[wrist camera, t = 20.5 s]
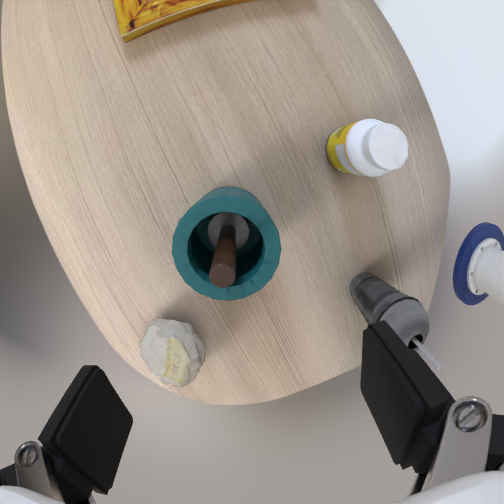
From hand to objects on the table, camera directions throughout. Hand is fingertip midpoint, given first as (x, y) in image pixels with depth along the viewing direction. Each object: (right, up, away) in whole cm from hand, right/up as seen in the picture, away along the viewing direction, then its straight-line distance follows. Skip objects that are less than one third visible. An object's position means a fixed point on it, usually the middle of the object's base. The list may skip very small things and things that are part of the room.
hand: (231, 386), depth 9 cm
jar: (-2, +8, +27) cm, 29 cm away
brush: (-2, +8, +27) cm, 28 cm away
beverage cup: (+17, -1, +31) cm, 36 cm away
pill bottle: (+13, +18, +25) cm, 34 cm away
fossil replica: (-11, -9, +32) cm, 35 cm away
